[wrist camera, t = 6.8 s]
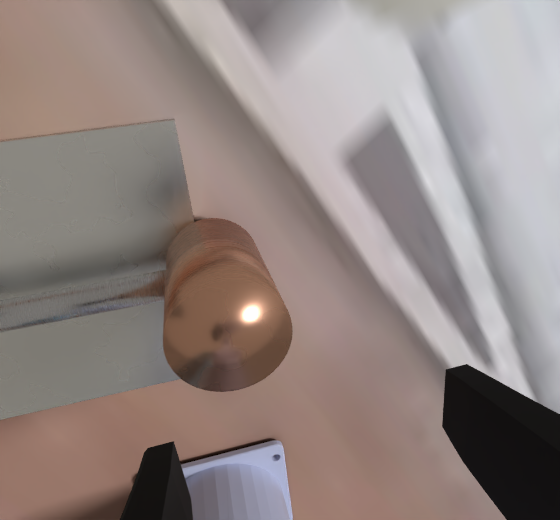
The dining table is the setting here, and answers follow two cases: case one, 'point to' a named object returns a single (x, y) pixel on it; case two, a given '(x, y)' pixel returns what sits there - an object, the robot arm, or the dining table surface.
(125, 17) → the dining table surface
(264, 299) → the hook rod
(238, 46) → the dining table surface
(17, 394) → the grey plate
